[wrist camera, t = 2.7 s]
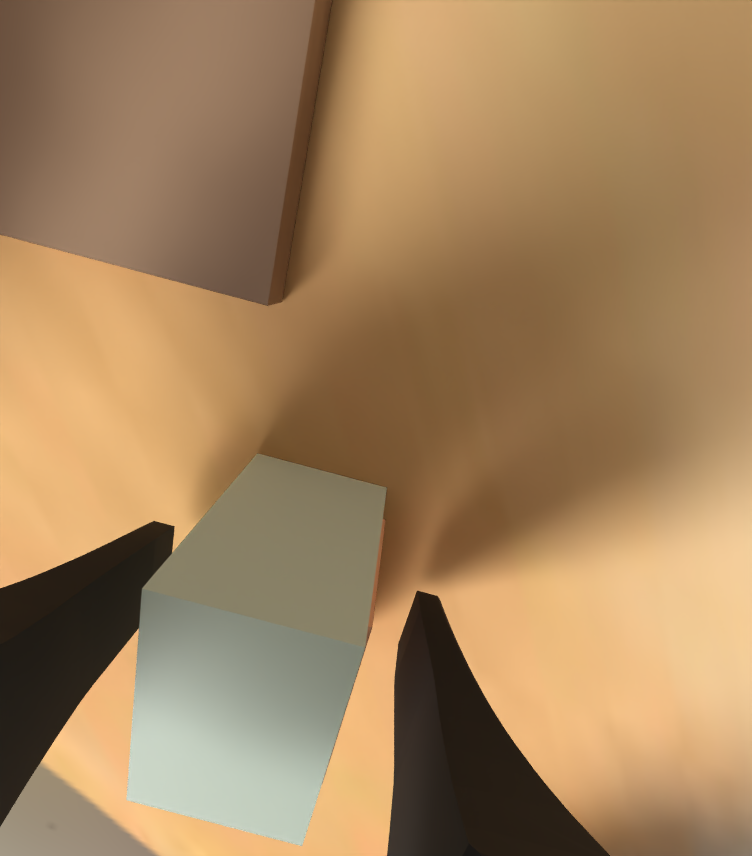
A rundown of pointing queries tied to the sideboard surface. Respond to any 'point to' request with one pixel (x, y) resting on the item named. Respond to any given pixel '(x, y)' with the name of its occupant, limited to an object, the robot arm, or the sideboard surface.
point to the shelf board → (161, 133)
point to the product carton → (255, 648)
